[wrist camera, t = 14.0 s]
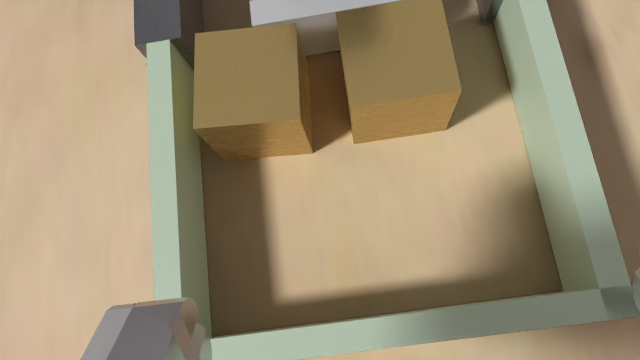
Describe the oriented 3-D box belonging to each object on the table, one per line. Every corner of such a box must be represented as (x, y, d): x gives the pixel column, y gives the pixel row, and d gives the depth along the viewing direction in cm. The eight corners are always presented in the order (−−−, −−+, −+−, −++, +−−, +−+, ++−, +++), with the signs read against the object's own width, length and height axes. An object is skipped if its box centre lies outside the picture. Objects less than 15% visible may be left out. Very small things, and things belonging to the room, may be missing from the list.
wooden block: (341, 64, 22) (335, 12, 18) (428, 49, 22) (440, -6, 18) (354, 144, 21) (349, 107, 17) (444, 131, 20) (462, 90, 17)
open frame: (175, 76, 22) (146, 43, 20) (516, 18, 21) (538, -27, 18) (189, 365, 19) (156, 377, 16) (597, 314, 18) (640, 316, 15)
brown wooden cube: (225, 80, 22) (195, 33, 18) (309, 72, 22) (296, 22, 18) (225, 161, 21) (192, 128, 17) (313, 154, 21) (300, 119, 17)
